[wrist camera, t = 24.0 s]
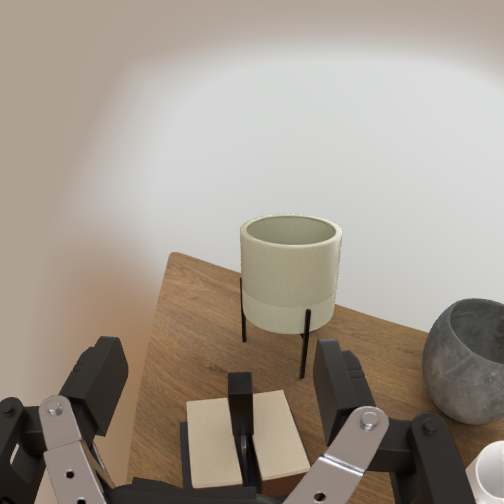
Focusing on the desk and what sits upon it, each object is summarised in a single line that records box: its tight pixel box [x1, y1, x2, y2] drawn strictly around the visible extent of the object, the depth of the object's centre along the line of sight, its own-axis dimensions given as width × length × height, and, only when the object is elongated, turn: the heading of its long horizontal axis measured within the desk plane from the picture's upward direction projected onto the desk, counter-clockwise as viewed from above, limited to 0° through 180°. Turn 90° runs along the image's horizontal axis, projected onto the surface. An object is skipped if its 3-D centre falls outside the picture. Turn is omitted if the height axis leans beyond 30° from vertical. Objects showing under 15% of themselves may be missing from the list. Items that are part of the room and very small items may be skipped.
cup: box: [465, 441, 504, 504], centre depth 19 cm, size 8×12×10 cm
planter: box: [240, 214, 342, 379], centre depth 52 cm, size 15×16×23 cm
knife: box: [228, 372, 254, 483], centre depth 30 cm, size 2×6×16 cm, turn 2°
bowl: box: [422, 298, 504, 425], centre depth 37 cm, size 20×20×15 cm
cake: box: [180, 390, 312, 503], centre depth 33 cm, size 16×16×8 cm
